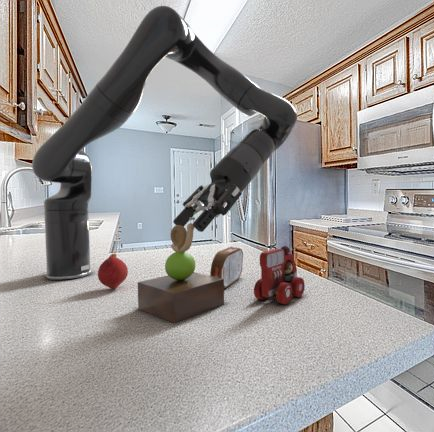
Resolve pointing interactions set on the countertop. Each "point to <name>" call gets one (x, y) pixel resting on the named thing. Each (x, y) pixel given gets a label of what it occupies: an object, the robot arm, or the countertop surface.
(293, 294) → the toy fire truck
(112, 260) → the onion
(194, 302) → the walnut block
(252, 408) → the countertop surface
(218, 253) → the tin
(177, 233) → the green tan rounded piece
